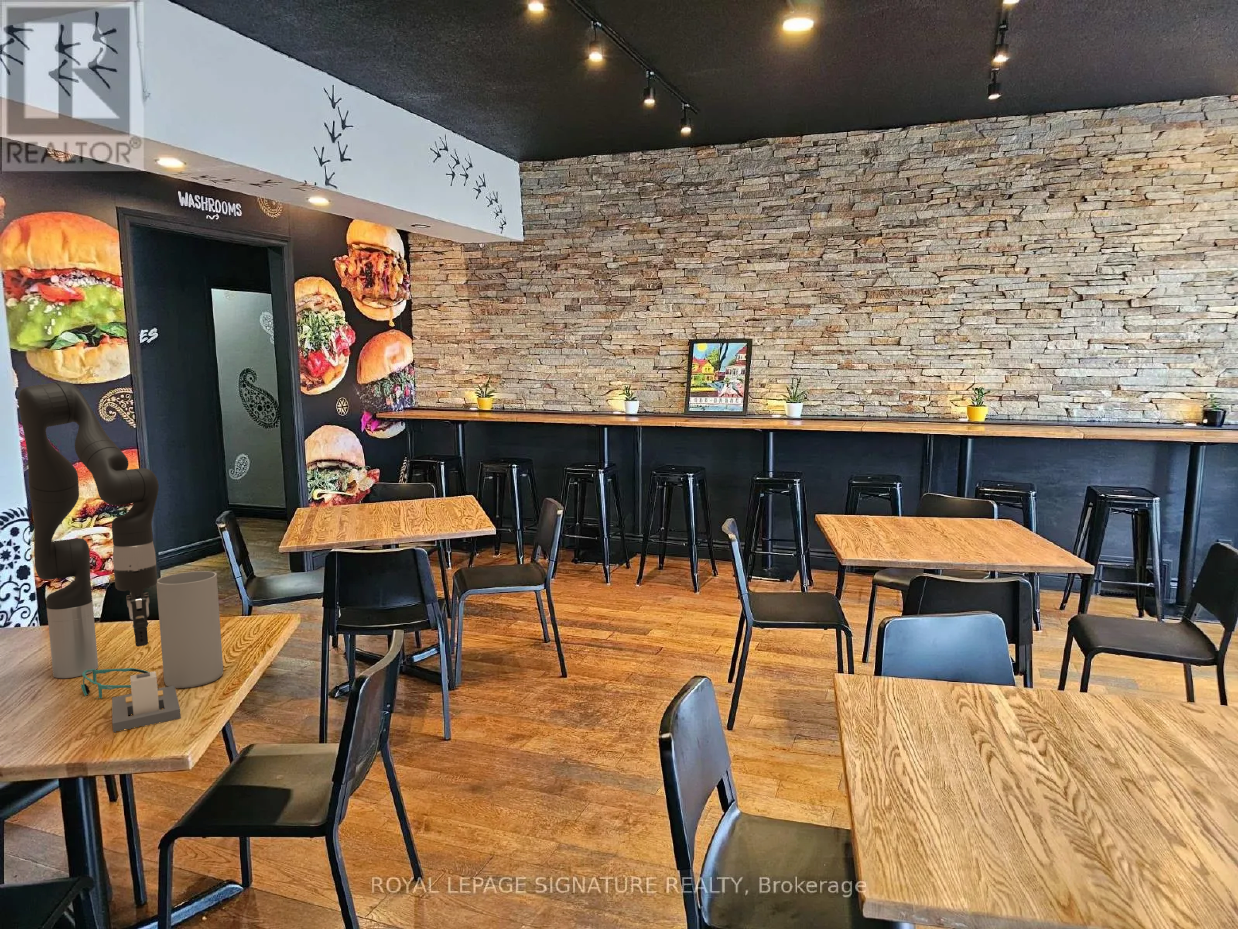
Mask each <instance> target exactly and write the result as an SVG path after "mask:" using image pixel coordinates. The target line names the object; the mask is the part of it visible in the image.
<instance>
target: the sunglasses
mask: <svg viewBox="0 0 1238 929" xmlns="http://www.w3.org/2000/svg"><path fill="white" fill-rule="evenodd" d="M89 671H93V672H92V678H93V679H92V678H89V677H88V676H87V674H85V673H87V672H89ZM112 672H123V673H126V672H134V673H135V672H136V673H140V674H143V673H148V672H149V671H148V670H144V669H140V668H133V667H132V668H131V667H129V668H127V667H126V668H106V669H105V668H104V669H97V670H95V669H91V670H85V671H84V672H83V673H82V677H83V679H82V684H81V685H80V688H81V690H82V693H83V696H84V697H87V696H86V695H88V696H89V695H90V693H91V690H90V686H89V685H87V683H85V681H86V680H87V681H89V682H90V683H92V684H96V685H97V690H98V697H97V698H101V699H103V690H109V691H110V690H115V689H122V688H124V689H131V684H120V685H119V684H102V683H100V682H98V680H97V679H98V678H97V675H98V674H100V675H101V674H102V675H103V674H104V675H105V674H107V673H112ZM85 679H86V680H85ZM158 684H159V683H157V686H159V685H158Z"/></svg>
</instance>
